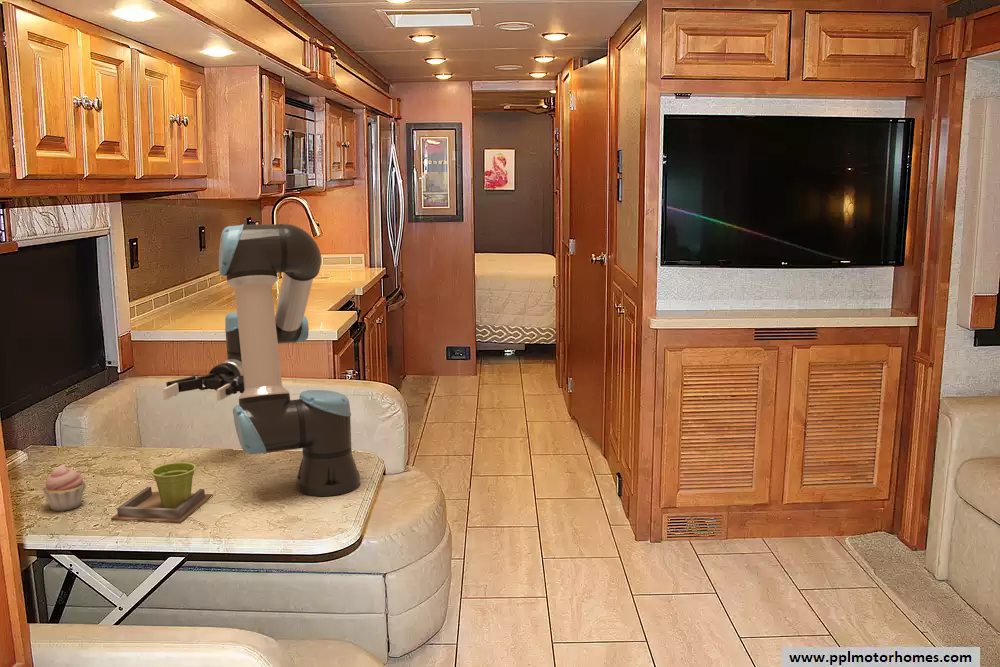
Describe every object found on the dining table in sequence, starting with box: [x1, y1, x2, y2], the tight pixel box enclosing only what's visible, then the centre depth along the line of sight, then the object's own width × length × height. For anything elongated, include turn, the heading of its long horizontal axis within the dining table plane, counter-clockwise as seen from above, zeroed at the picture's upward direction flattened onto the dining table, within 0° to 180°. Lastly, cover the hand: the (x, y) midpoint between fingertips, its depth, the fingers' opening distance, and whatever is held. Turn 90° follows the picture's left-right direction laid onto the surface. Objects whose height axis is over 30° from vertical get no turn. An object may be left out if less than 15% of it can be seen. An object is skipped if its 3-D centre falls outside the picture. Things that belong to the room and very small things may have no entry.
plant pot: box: [150, 462, 196, 509], centre depth 195 cm, size 9×9×9 cm
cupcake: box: [41, 463, 88, 512], centre depth 196 cm, size 9×9×10 cm
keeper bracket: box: [110, 486, 214, 524], centre depth 195 cm, size 16×16×2 cm
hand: (191, 394), depth 207 cm, fingers open, 13 cm apart
